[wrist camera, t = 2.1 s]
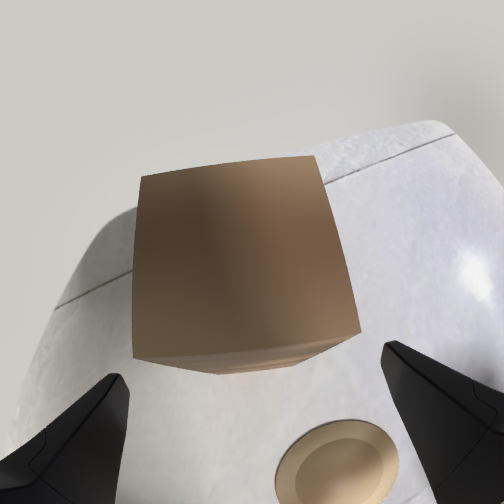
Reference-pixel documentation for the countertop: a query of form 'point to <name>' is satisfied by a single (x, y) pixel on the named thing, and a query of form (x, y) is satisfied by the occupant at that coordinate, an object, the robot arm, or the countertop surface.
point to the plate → (339, 466)
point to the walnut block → (238, 268)
